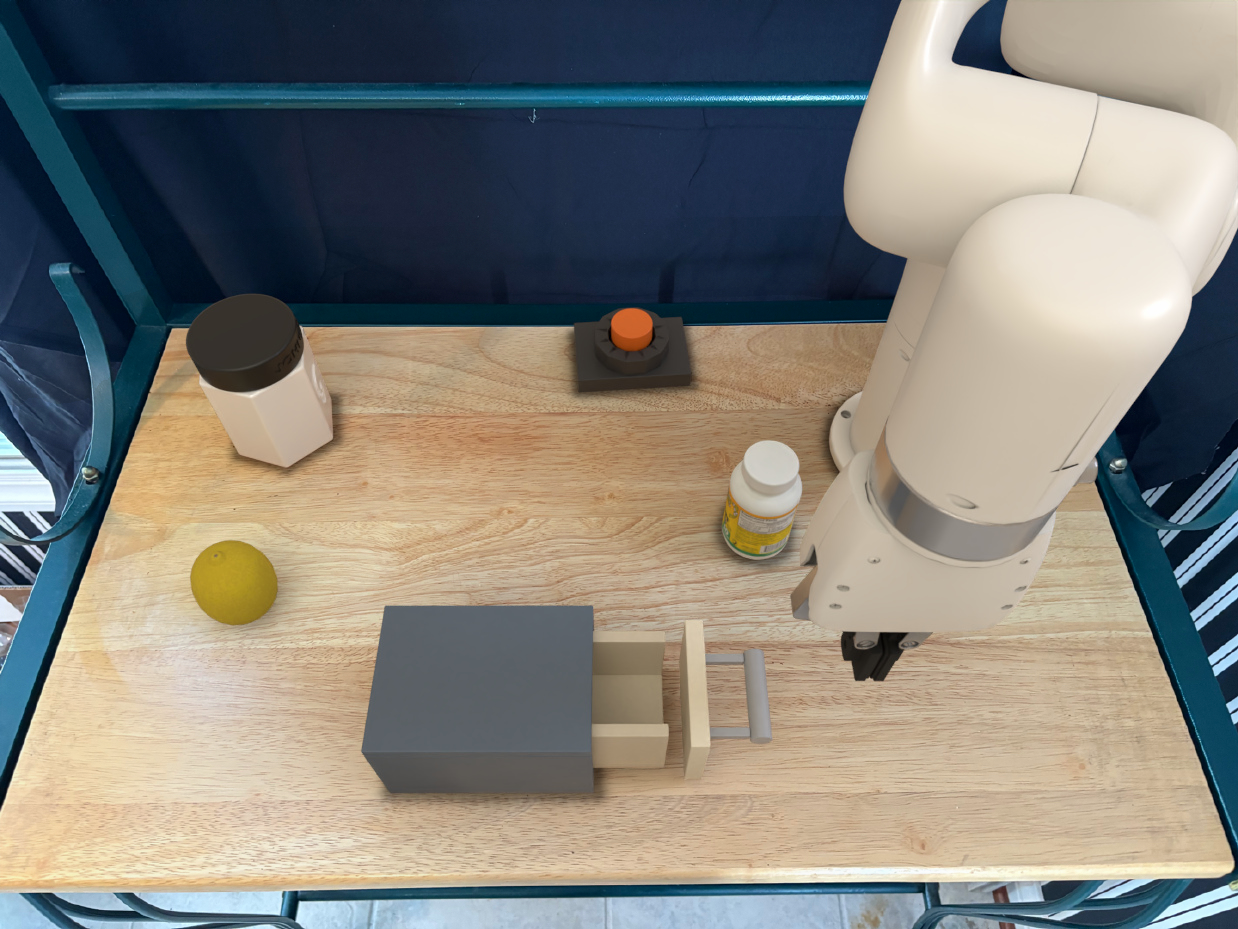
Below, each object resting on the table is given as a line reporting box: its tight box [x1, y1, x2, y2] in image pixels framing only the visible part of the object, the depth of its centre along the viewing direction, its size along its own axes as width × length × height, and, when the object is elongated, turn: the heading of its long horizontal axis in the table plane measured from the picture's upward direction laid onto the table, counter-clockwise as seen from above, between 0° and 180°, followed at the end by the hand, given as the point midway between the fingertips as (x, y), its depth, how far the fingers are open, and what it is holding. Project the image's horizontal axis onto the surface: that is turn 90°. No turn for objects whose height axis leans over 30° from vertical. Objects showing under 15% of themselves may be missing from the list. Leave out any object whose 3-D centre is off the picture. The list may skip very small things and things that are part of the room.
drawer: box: [592, 619, 773, 781], centre depth 60 cm, size 17×8×7 cm, turn 90°
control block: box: [573, 306, 692, 393], centre depth 82 cm, size 10×7×4 cm
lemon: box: [189, 539, 279, 626], centre depth 65 cm, size 6×6×8 cm
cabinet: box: [360, 605, 595, 794], centre depth 60 cm, size 14×10×9 cm
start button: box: [611, 307, 653, 351], centre depth 80 cm, size 4×4×2 cm
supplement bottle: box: [721, 439, 803, 561], centre depth 69 cm, size 5×5×10 cm
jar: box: [185, 293, 334, 469], centre depth 73 cm, size 9×8×12 cm
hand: (864, 657), depth 53 cm, fingers closed
